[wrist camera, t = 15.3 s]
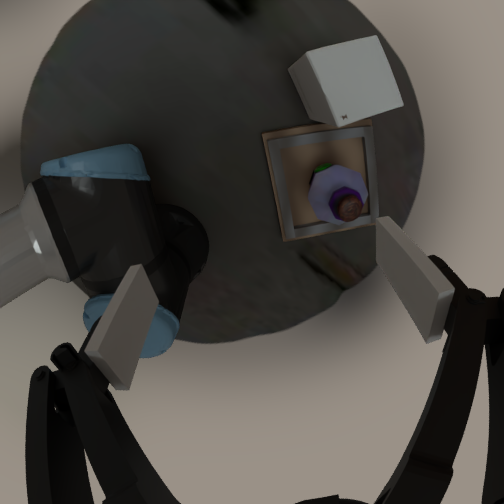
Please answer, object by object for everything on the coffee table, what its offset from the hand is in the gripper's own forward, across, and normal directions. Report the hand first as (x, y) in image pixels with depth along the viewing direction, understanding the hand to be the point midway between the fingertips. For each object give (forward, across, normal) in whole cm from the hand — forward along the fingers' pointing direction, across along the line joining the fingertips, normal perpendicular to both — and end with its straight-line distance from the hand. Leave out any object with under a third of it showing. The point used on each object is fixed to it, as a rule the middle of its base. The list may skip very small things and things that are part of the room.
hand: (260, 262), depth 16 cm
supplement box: (+32, +13, +9) cm, 36 cm away
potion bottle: (+30, +10, -6) cm, 32 cm away
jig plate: (+32, +10, -6) cm, 34 cm away
